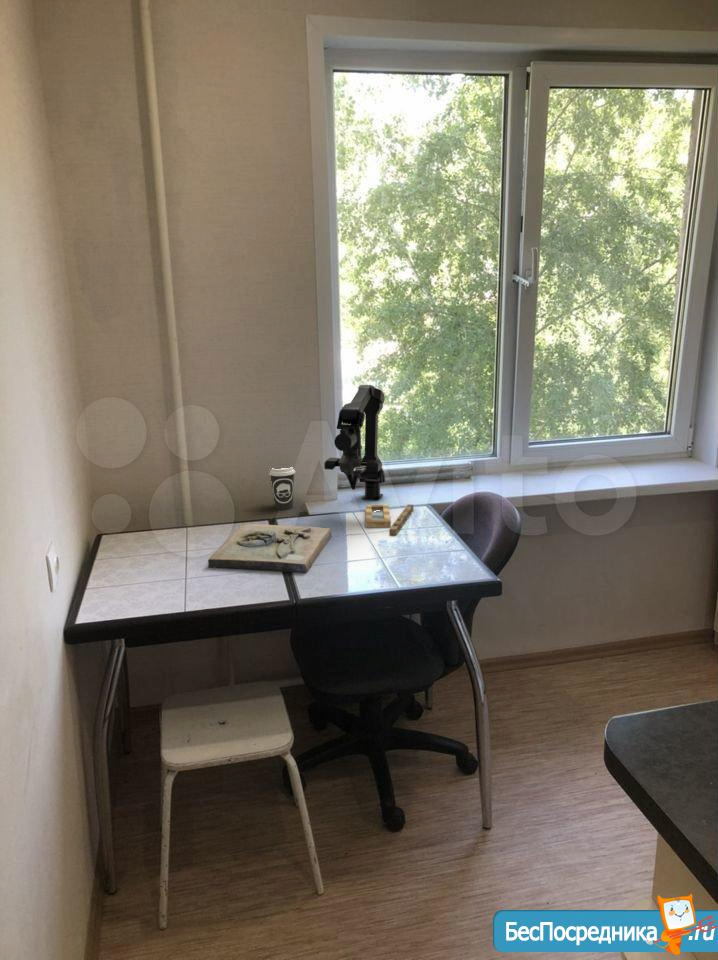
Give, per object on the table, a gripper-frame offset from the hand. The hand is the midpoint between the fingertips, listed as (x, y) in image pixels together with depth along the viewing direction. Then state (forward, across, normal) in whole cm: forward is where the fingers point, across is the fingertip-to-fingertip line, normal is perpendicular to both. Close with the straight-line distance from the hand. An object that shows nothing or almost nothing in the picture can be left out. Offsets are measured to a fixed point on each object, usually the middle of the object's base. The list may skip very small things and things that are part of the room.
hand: (353, 489), depth 247 cm
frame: (+10, +8, 0) cm, 13 cm away
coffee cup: (+10, -28, +5) cm, 30 cm away
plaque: (+11, -15, -36) cm, 40 cm away
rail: (+10, +17, -2) cm, 20 cm away
